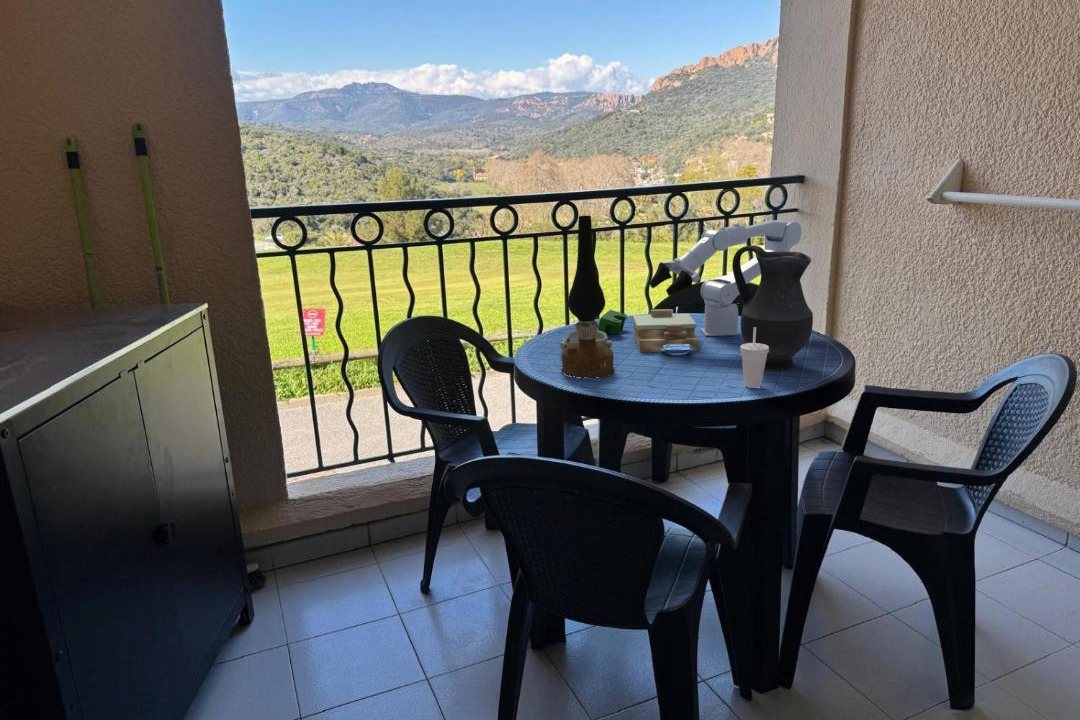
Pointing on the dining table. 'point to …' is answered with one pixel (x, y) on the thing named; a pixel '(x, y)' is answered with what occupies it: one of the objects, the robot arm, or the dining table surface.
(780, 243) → the robot arm
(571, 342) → the dish
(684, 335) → the wooden block
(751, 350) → the smoothie
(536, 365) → the dining table surface
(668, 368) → the dining table surface
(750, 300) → the pitcher
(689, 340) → the tan shallow box
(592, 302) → the oil lamp
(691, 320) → the lid
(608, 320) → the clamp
